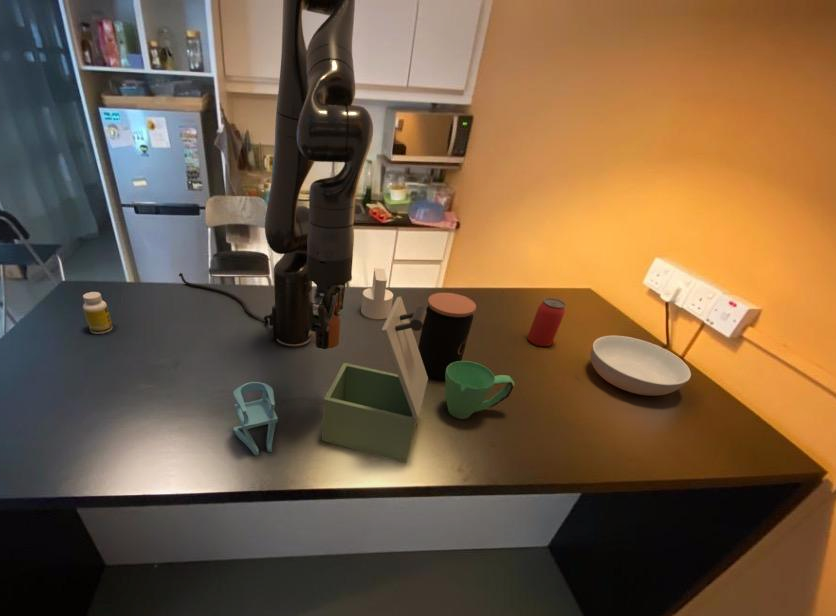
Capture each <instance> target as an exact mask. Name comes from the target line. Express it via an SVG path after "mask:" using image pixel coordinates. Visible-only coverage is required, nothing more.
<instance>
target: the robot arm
mask: <svg viewBox="0 0 836 616" xmlns="http://www.w3.org/2000/svg"><path fill="white" fill-rule="evenodd" d="M355 9H356V0H282V28H281V29H282V31H281V32H282V33H281V56H280V57H281V59H280V68H279V69H280V70H279V82H278V93H277V102H276V113H275V128H274V149H273V158H272V159H273V162H272V171H271V181H270V188H269V194H268V199H267V206H266V211H265V217H264V218H265V219H264V234H265V239H266V243H267V245H268V246H269V248H270V249H271V250H272V251H273V253H276V254H278V255H282V257H280V259H279V260H278V261H277V262H276V263H275V264H274V267H273V284H274V287H273V288H274V305H273V306H272V307H271V313H270V314H267V315H265V316H264V317H263V319H262V318H260V317H259V316H257V315H255V314H254V313H252V312H251V311H250V310H249V308H248V307H247V305H246V303H245V302H244V301H243V300H241V299H240V297H238V296H236V295H234V294H233V293H230V292H228V291H226V290H223V289H221V288H217V287H216V288H215V287H211V286H208V285H203V284H196V283H191V282H188V281H187V280H186V278H185V277H184V273H183V272H179V274H178V277H180V279H181V281H182V282H183V283H184V284H185V285H187V286H189V287H193V288H194V287H195V288H200V289H205V290H210V291H213V292H217V293H221V294H224V295H226V296H229V297H232V298H234V299H235V300H236V301H237V302H238V303H240V304H241V305H242V308H243V309H244V311H245V313H246V314H248V315H249V316H251V317H252V318H253V319H255V320H256V321H259V322H261V323H263V324H266V325H267V324H269V326H272V340H273V341H275V342H276V343H278V344H280V345H281V346H283V347H287V348H299V347H300V348H301V347H304V346H307V345H308V344H310V342H311V341H312V333H313V332H314V333H315V332H316V344H315V347H316V348H317V349H322V350H328V349H329V348H328V346H329V329H330V328H329V327H330V320H331V319H332V318H333V317H334V315H336V316H338V317H339V318H340V315H341V311H342V310H343V307H344V299H345V291H346V284H347V283H348V282H349V281H351V279H352V273H353V258H354V246H355V244H354V243H355V229H354V228H355V227H354V224H355V208H356V197H357V191H358V186H359V181H360V179H361V175H362V172H363V168H364V166H365V163H366V160H367V157H368V154H369V151H370V148H371V145H372V142H373V136H374V124H373V119H372V117H371V114H370V113H369V111H368V109H366V108H365V107H364V106H361V105H356V104H353V103H354V101H355V97H356V78H355V68H354V67H355V66H354V56H353V37H354V36H353V35H354V24H355ZM303 11H306V12H311V13H314V14H319V15H323V16H328V17H327V18H326V19H325V21H324V22H322V24H321V25H319V27H318V28H317V29H316V31H315V32H314V33H313V35H312V37H311V38H310V40H309V43H308V45H307V44H306V40H305V35H304V28H303ZM306 45H307V46H306ZM315 162H316V163H344V164H343V166H342V168H341V169H340V171H338V173H337V174H335V175H333V176H328V177H325V178H320V179H317V180H314V181H313V182H311V184H310V186H309V192H308V193H309V194H308V196H309V197H308V207H307V206H305V205H298V201H299V197H300V194H301V190H302V187H303V185H304V183H305V182H306V181H305V180H306V179H307V177H308V175H309V173H310V171H311V170H312V169H313V166H314V164H315ZM313 284H315V286H316V288H315V289H314V293H313ZM312 296H313V297H312ZM313 300H314V302H313ZM327 348H328V349H327Z"/></svg>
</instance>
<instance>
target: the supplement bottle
mask: <svg viewBox="0 0 836 616" xmlns="http://www.w3.org/2000/svg"><path fill="white" fill-rule="evenodd" d="M82 298H83V302H84V303H83V304H82V309H83V312H84V315H85V319H86V322H87V325H88V329H89V331H90V333H92V334H94V335H102V334H103V335H104V334H107V333H110V332H111V331H112V330H113V329H114V327H113V322H112V319H111V315H110V312H109V307H108V304H107V303H106V302H107V301H104V300H103V297H102V294H101V293H100V292H98V291H90V292H86V293H84V294H83V295H82Z"/></svg>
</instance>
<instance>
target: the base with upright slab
mask: <svg viewBox="0 0 836 616" xmlns="http://www.w3.org/2000/svg"><path fill="white" fill-rule="evenodd" d="M372 277H373V278H372V286H371V287H368V288H365V289H364V290H363V291H362V297H361V306H360V313H361V314H362V315H363V316H364V317H365V318H368V319H371V320H385V319H387V318H388V316H389V313H390V311H391V309H392V307H393V299H394V293H393V292H392V291H391V290H389V289H387V283H388V279H387V274H386V270H385V268H381V267H379V268H378V267H377V268H374V269H373V276H372Z"/></svg>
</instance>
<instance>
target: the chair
mask: <svg viewBox="0 0 836 616" xmlns="http://www.w3.org/2000/svg"><path fill="white" fill-rule="evenodd" d="M256 391H257V392H260V391H261V392H262V394H261V398H260V399H256V400H252V401H248V402H245V401H244V397H243V395H245V394H247V393H251V392H256ZM233 396H234V398H235V400H236V403H235V404H234V410H235V413H236V414H237V418H238V420H239V423H240V425H238V426H237V425H236V426H234V427H233V433H234V435H235V436H236V437H237V438H238V439H239V440H240V441H241V442H242V443H243V444H244V445H245V446H246V447H247V448H248V449H249V450H250V451H251V452H252V454H253V455H254V456H255V457H257V456H259V455H260V450H259V447H258V445H257V444H256V441H255V440H254V438H253V436H252V434H251V433H250V431H249V430H250V429H254V428H258V427H263V426H266V425H267V426H268V427H267V433H266V440H265V441H266V442H265V443H266V451H267V452H268V453H272V452H273V441H274V435H275V429H276V424H277V423H278V422H279V418H278V415H277V413H276V412H275V407H276V401H275V396H274V390H273V388H272V386H270V385H269V384H267V383H265V382H259V381H250V382H247V383H244V384H242V385H240V386H238V387H237V388H235V389H234V390H233ZM267 396H268V397H267Z"/></svg>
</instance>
